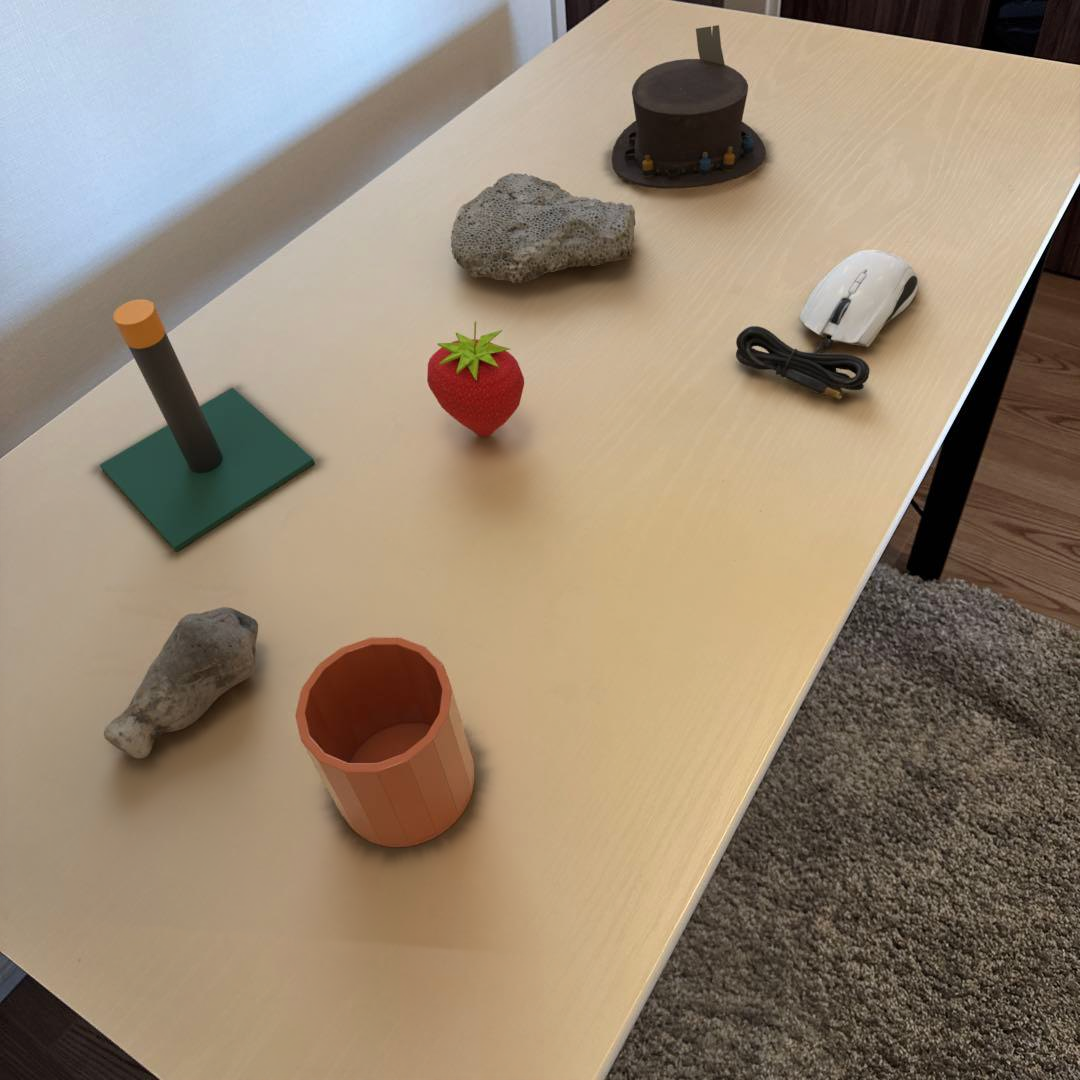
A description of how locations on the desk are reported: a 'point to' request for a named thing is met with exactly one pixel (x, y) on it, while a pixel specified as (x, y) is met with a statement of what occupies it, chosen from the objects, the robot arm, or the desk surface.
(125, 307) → the marker
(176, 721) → the stone
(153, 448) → the mat
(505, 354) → the strawberry
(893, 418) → the desk surface
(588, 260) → the rock
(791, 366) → the computer mouse
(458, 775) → the pen cup
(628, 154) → the top hat
